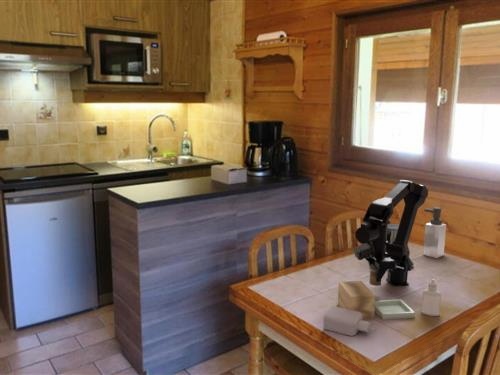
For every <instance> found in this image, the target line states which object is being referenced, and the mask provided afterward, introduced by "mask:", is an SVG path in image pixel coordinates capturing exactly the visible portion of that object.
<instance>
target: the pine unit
mask: <svg viewBox="0 0 500 375" xmlns="http://www.w3.org/2000/svg"><path fill="white" fill-rule="evenodd" d="M337 294H338V295H337V296H338V297H337V305H338V307H340V308H344V309H349V310H353V311H357V312H360V313H361V314H362V320H372V319H375V311H374V309H375V301H376V295H375V293H374V292H373V291H372V290H371V289H370V288H369V287H368V286H367V285H366V284H365V283H364V282H363V281H362V280H352V281H351V280H350V281H338V293H337Z"/></svg>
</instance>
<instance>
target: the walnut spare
mask: <svg viewBox="0 0 500 375" xmlns="http://www.w3.org/2000/svg"><path fill="white" fill-rule="evenodd" d="M372 264H375V263H372ZM372 264H371V267H369V285H371V286H375V287H377V286H381V285H382V279H381V280H380V282H377V281H376V270H375V267H374V266H373V265H372Z"/></svg>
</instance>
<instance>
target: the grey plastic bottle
mask: <svg viewBox="0 0 500 375" xmlns="http://www.w3.org/2000/svg"><path fill="white" fill-rule="evenodd" d="M372 324H373V323H372V321H371V322H370V321H367V320H365V319H362V314H361V313H360V312H357V311H353V310H349V309H344V308H341V307H340V306H334V305H332V306H331V307H330V308H329V309H328V311H327V312H325V314H324V316H323V326H322V327H323V330H325V331H330V332H334V333H338V334H342V335H346V336H349V337H352V336H356V334H357V333H358V331H361V332H364V333H369V331H370V330H372V331H376V329H377V328H378V326H375V325H372Z"/></svg>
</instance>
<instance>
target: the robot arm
mask: <svg viewBox="0 0 500 375" xmlns="http://www.w3.org/2000/svg"><path fill="white" fill-rule="evenodd" d="M428 196H429V190H428V188H427V187H426V185H423V184H418V183H415V181H414V182H413V181H411V180H406V179H400V180H399V181H398V183H397V185H395V187H393V188H392V189H391V190H390V191H389V192H388V193H387V194H386V195H385V196H383V197H382V198H377V199H375V200H374V201H372V202H371V203H370V204H369V206H368V207H367V210H366V211H365V214H364V217H363V219H362V222H361V223H360V227H358V228H356V231H355V232H354V234H355V235H354V236H355V239H356V241H357V242H358V243H360V245H358V246H355V247H353V248H352V250H353V254H354V257H355V258H356V259H357V260H358V261H362V260H364V259H365V260H366V261H367V264H368V267H369V268H370V267H371V264H372V263H375V264H372V265H373V266H374V267H375V270H376V281H377V282H380V280H381V281H382V279H383V277H384V276H385V274H386V273H387V276H386V281H387V282H388V283H389V284H391V286H392V287H393V286H395V287H397V286H399V287H400V286H409V285H410V283H409V282H408V275H409V274H408V273H409V272H411V271H412V269H413V266H414V265H413V260H412V259H411V258H410V255H411V254H410V253H411V252H410V249H409V246H408V244H409V241H410V237H411V234H412V230H413V227H414V224H415V223H414V222H415V220H416V218H417V213H418V210H419V208H420V207H422V205H424V204H425V201H426V198H428ZM402 200H403V202H404V208H403V210H402V214H401V218H400V221H399V224H398V225H399V227H398V231H397V234H396V238H395V241H393V242H392V243H389V242H387V241H386V240H387V225H388V224H391V221H390V219H391V217H392V216H393V214H394V208H395V207H396V206H397V205H398V204H400V202H401V201H402ZM386 245H388V246H387V250H386ZM384 257H385V258H384Z"/></svg>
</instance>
